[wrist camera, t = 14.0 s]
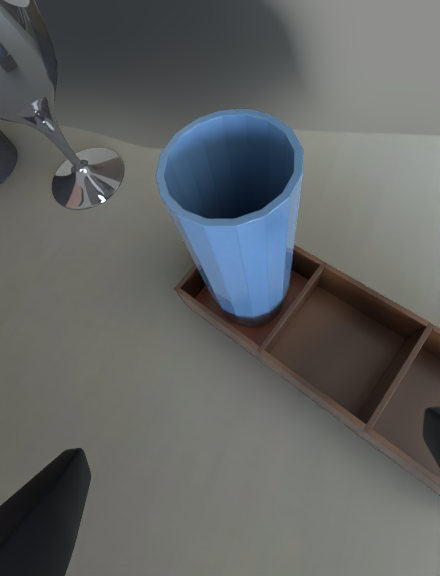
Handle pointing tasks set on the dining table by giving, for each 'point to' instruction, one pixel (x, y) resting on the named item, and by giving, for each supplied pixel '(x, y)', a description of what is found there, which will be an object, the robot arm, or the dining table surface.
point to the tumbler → (236, 207)
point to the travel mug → (6, 157)
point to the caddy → (346, 356)
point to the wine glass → (48, 106)
